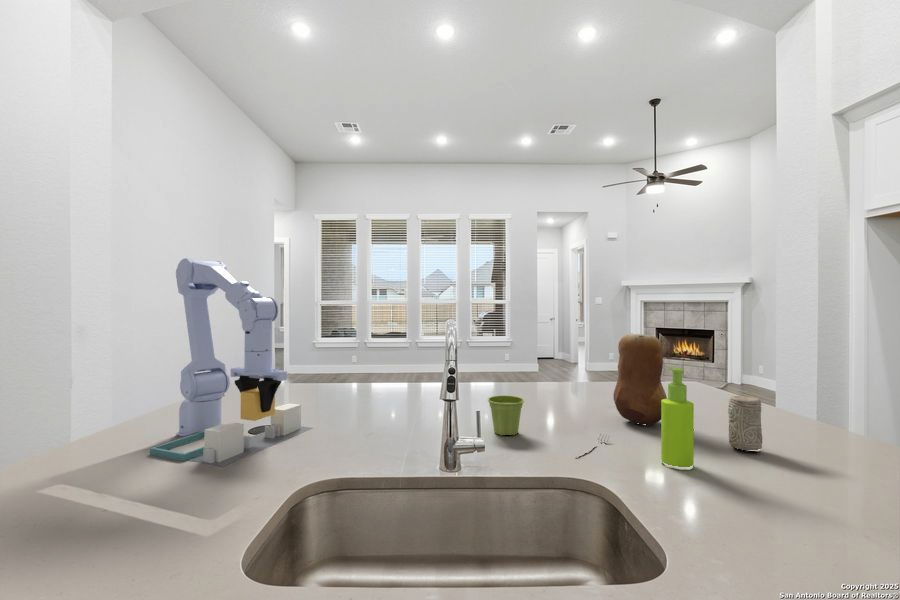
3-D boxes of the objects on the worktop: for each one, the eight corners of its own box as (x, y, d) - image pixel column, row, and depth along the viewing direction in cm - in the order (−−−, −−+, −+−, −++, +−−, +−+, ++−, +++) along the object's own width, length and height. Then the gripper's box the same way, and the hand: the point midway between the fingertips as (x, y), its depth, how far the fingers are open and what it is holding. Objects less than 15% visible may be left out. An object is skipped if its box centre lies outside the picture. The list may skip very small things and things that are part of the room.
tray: (149, 461, 88) (149, 448, 88) (208, 441, 101) (209, 429, 101) (184, 468, 85) (184, 454, 85) (240, 446, 98) (241, 434, 98)
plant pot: (482, 436, 106) (482, 401, 106) (493, 425, 115) (493, 393, 115) (519, 440, 103) (519, 404, 103) (527, 429, 111) (527, 396, 111)
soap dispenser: (689, 460, 90) (689, 366, 90) (696, 472, 84) (696, 371, 84) (658, 456, 92) (658, 364, 92) (663, 468, 86) (663, 369, 86)
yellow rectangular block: (240, 419, 94) (240, 392, 94) (261, 412, 100) (261, 386, 100) (254, 420, 93) (254, 393, 93) (274, 414, 98) (274, 388, 98)
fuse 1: (204, 459, 86) (204, 429, 86) (229, 449, 91) (229, 421, 91) (219, 462, 84) (219, 431, 84) (243, 452, 90) (243, 423, 90)
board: (188, 467, 85) (188, 448, 85) (284, 429, 110) (284, 414, 110) (222, 474, 82) (222, 453, 82) (312, 433, 107) (312, 418, 107)
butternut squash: (670, 421, 120) (670, 333, 120) (664, 433, 109) (665, 336, 109) (618, 414, 127) (618, 331, 127) (608, 425, 116) (608, 333, 116)
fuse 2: (270, 433, 102) (270, 408, 102) (288, 426, 108) (288, 403, 108) (283, 435, 101) (284, 410, 101) (300, 428, 107) (300, 404, 107)
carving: (764, 449, 97) (764, 397, 97) (759, 458, 92) (759, 402, 92) (731, 443, 102) (731, 393, 102) (725, 451, 96) (725, 398, 96)
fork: (569, 459, 92) (569, 449, 92) (600, 441, 104) (600, 433, 104) (581, 462, 90) (581, 452, 90) (610, 443, 102) (610, 435, 102)
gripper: (219, 350, 95) (218, 411, 95) (270, 353, 90) (270, 417, 90) (244, 347, 102) (244, 404, 102) (293, 350, 97) (293, 410, 96)
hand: (258, 410), depth 96 cm, fingers closed on yellow rectangular block, 4 cm apart
